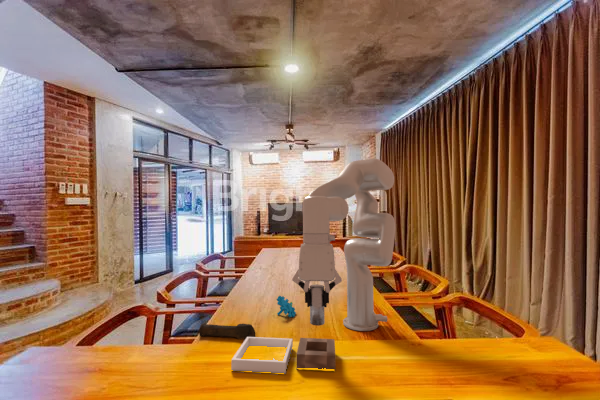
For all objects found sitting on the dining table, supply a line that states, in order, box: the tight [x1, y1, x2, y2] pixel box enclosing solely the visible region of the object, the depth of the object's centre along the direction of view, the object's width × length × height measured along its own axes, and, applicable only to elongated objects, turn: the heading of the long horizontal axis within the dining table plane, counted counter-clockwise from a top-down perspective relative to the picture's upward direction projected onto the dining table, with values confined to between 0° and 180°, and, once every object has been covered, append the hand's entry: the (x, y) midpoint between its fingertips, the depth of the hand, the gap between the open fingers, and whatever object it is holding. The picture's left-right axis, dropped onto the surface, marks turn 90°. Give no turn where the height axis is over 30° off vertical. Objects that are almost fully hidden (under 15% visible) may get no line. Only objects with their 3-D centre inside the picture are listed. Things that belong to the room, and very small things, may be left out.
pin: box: [309, 283, 326, 326], centre depth 78 cm, size 4×4×10 cm
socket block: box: [296, 337, 336, 370], centre depth 77 cm, size 10×10×4 cm
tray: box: [230, 336, 294, 375], centre depth 78 cm, size 14×14×3 cm
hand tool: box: [198, 322, 257, 340], centre depth 92 cm, size 19×4×5 cm, turn 79°
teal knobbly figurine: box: [276, 295, 297, 318], centre depth 114 cm, size 11×6×10 cm
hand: (317, 304), depth 78 cm, fingers closed on pin, 4 cm apart
